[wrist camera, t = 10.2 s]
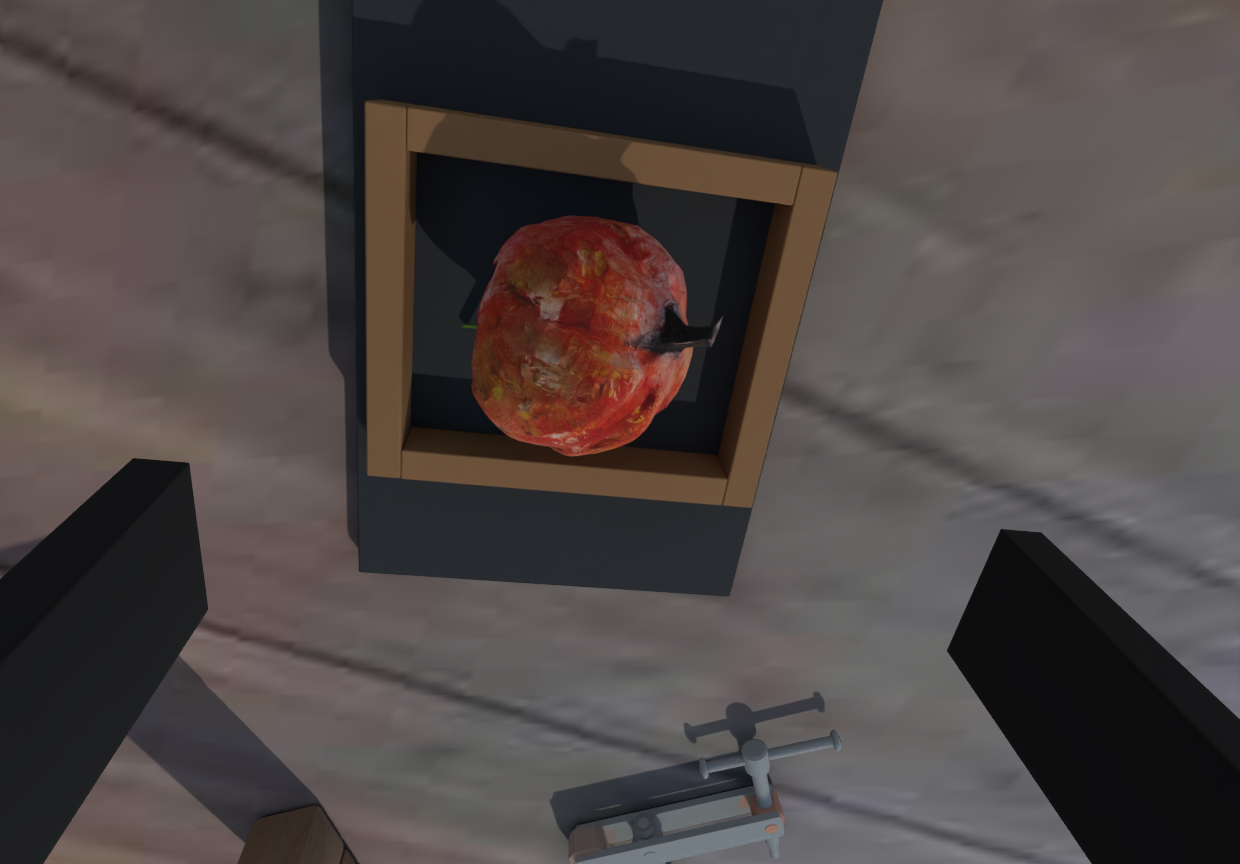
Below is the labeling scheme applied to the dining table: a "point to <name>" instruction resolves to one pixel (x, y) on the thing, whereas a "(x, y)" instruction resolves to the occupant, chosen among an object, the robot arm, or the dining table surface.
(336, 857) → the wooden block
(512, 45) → the back pad
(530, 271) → the red round lump
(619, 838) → the clamp
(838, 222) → the dining table surface
